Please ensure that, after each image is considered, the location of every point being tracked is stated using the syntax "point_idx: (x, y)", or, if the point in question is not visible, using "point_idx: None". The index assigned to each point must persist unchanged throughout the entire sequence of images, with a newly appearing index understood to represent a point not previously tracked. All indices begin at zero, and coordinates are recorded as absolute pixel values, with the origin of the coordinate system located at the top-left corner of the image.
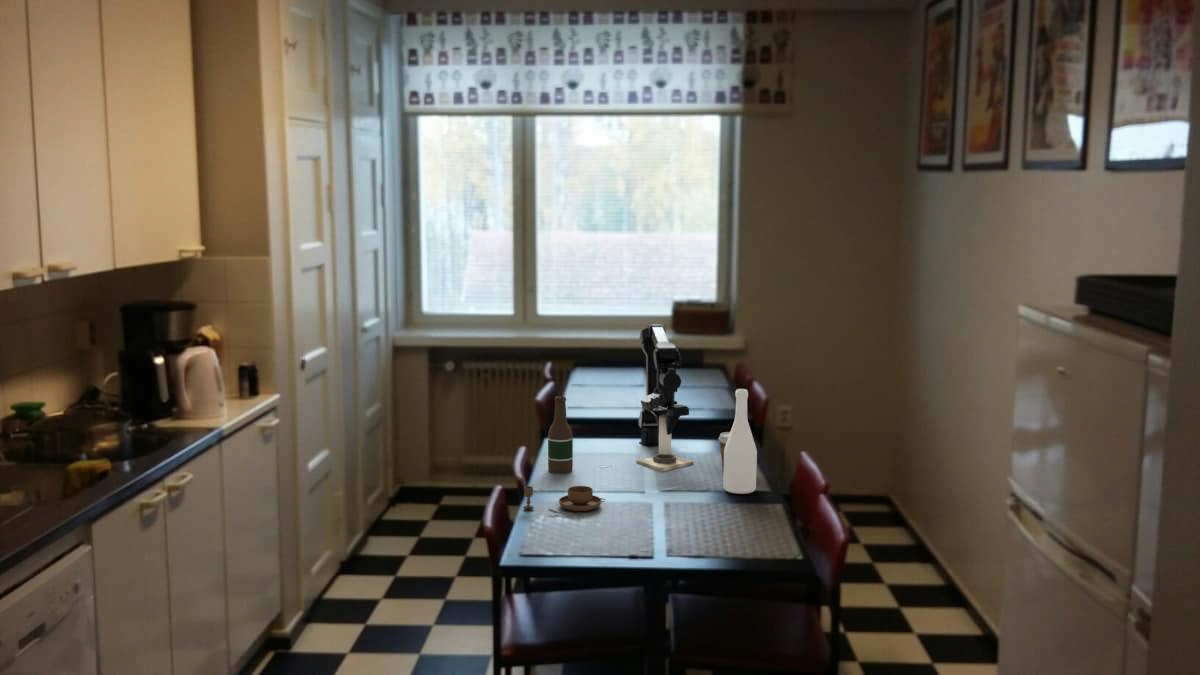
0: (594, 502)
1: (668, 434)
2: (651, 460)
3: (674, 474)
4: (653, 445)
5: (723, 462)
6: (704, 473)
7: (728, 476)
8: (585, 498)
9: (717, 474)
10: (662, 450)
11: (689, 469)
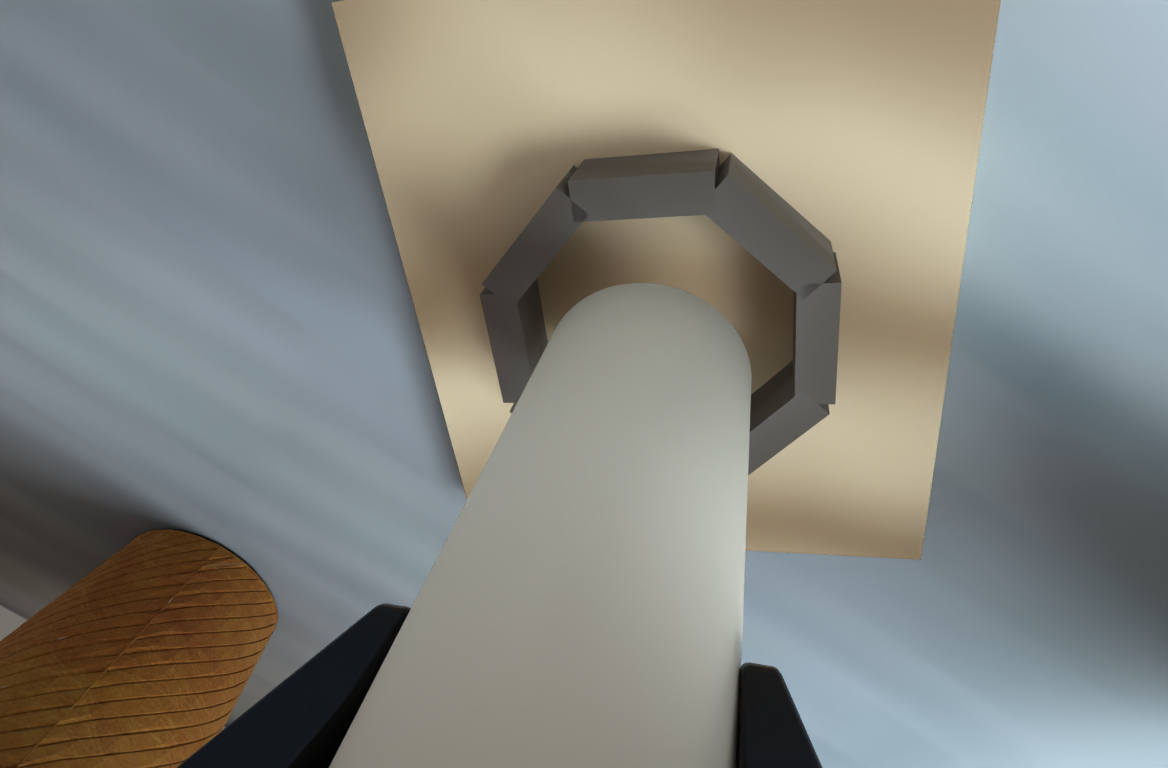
0: None
1: (382, 610)
2: (805, 168)
3: (236, 122)
4: None
5: (112, 595)
6: (211, 410)
7: None
8: None
9: (158, 469)
10: (576, 324)
11: (392, 398)
